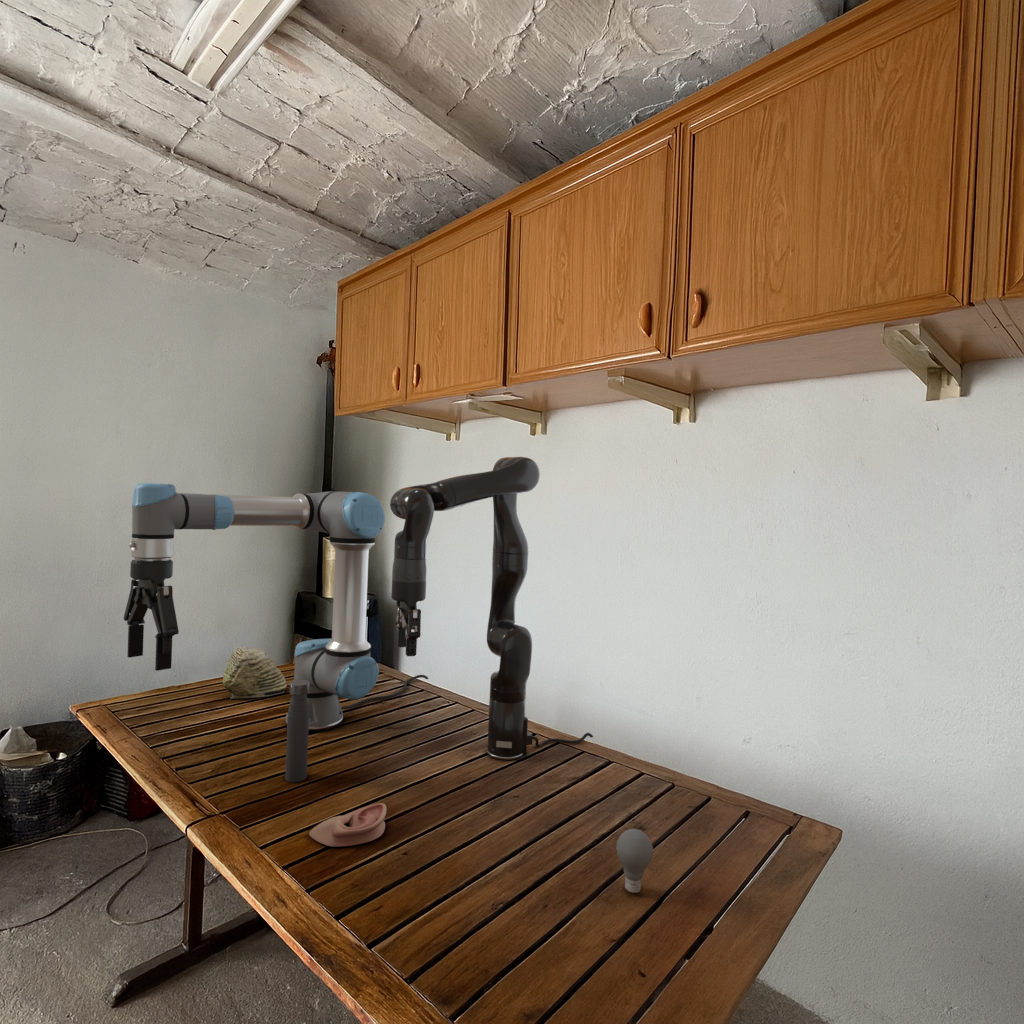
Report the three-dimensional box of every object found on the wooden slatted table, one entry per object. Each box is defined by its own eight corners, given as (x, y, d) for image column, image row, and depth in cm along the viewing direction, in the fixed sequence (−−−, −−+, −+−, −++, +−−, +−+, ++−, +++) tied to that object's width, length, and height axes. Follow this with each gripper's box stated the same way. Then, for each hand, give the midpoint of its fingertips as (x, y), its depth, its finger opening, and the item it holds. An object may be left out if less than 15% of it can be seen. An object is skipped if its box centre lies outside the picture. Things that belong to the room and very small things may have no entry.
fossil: (218, 695, 195) (220, 647, 195) (278, 685, 208) (279, 640, 207) (228, 703, 189) (230, 653, 188) (289, 692, 201) (290, 645, 201)
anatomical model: (301, 820, 116) (331, 792, 127) (300, 842, 116) (330, 812, 127) (368, 831, 113) (393, 801, 124) (368, 853, 113) (392, 821, 124)
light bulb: (610, 879, 108) (613, 822, 108) (644, 879, 109) (647, 822, 109) (619, 902, 102) (622, 840, 102) (655, 901, 103) (658, 840, 103)
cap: (285, 691, 142) (285, 681, 142) (303, 688, 145) (304, 678, 145) (294, 696, 139) (294, 686, 139) (312, 692, 142) (313, 683, 142)
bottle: (281, 777, 142) (285, 683, 142) (300, 771, 145) (304, 680, 145) (290, 784, 139) (294, 688, 139) (310, 778, 142) (313, 684, 142)
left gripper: (108, 554, 134) (104, 654, 134) (159, 565, 118) (155, 678, 119) (146, 552, 140) (143, 648, 140) (199, 563, 124) (195, 671, 124)
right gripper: (434, 582, 135) (431, 658, 135) (418, 574, 148) (415, 643, 148) (399, 583, 132) (396, 660, 132) (386, 574, 145) (383, 644, 146)
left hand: (148, 662), depth 129 cm, fingers open, 13 cm apart
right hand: (406, 651), depth 140 cm, fingers open, 8 cm apart
